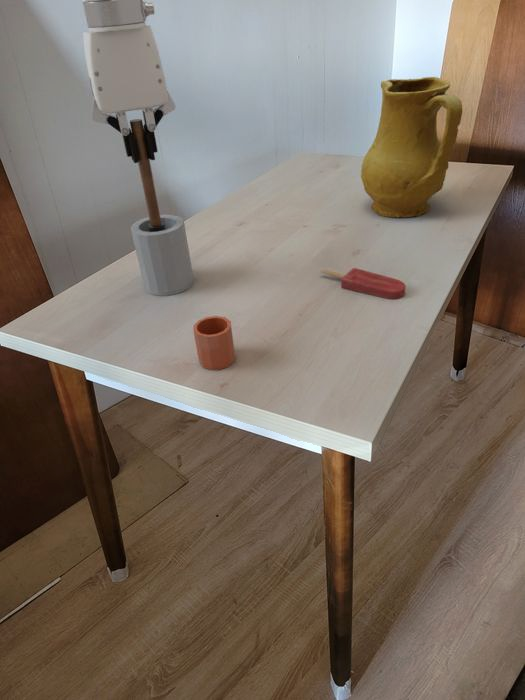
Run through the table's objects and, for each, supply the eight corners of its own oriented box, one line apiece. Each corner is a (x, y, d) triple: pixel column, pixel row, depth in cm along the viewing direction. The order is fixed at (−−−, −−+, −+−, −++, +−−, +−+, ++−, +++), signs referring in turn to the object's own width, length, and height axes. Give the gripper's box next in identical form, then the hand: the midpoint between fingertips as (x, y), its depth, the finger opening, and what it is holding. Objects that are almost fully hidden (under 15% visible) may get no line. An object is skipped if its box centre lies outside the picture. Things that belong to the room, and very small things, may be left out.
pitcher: (424, 187, 120) (436, 67, 105) (457, 221, 106) (477, 87, 90) (351, 198, 120) (352, 78, 104) (375, 233, 105) (380, 101, 90)
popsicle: (327, 260, 90) (410, 280, 83) (327, 269, 91) (409, 290, 84) (314, 271, 87) (398, 293, 80) (314, 280, 89) (397, 303, 81)
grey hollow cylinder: (135, 291, 90) (120, 232, 84) (162, 269, 97) (150, 212, 90) (176, 299, 87) (164, 237, 81) (202, 275, 93) (193, 217, 87)
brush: (149, 249, 87) (123, 122, 76) (158, 243, 89) (133, 118, 78) (162, 251, 86) (137, 122, 75) (171, 244, 88) (148, 118, 77)
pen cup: (192, 365, 72) (186, 332, 68) (210, 345, 75) (205, 313, 72) (224, 373, 70) (219, 339, 66) (241, 352, 73) (237, 319, 70)
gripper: (167, 10, 74) (187, 146, 84) (52, 21, 70) (88, 162, 80) (179, 11, 68) (199, 156, 78) (54, 23, 64) (93, 174, 74)
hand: (143, 158), depth 79 cm, fingers closed on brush
